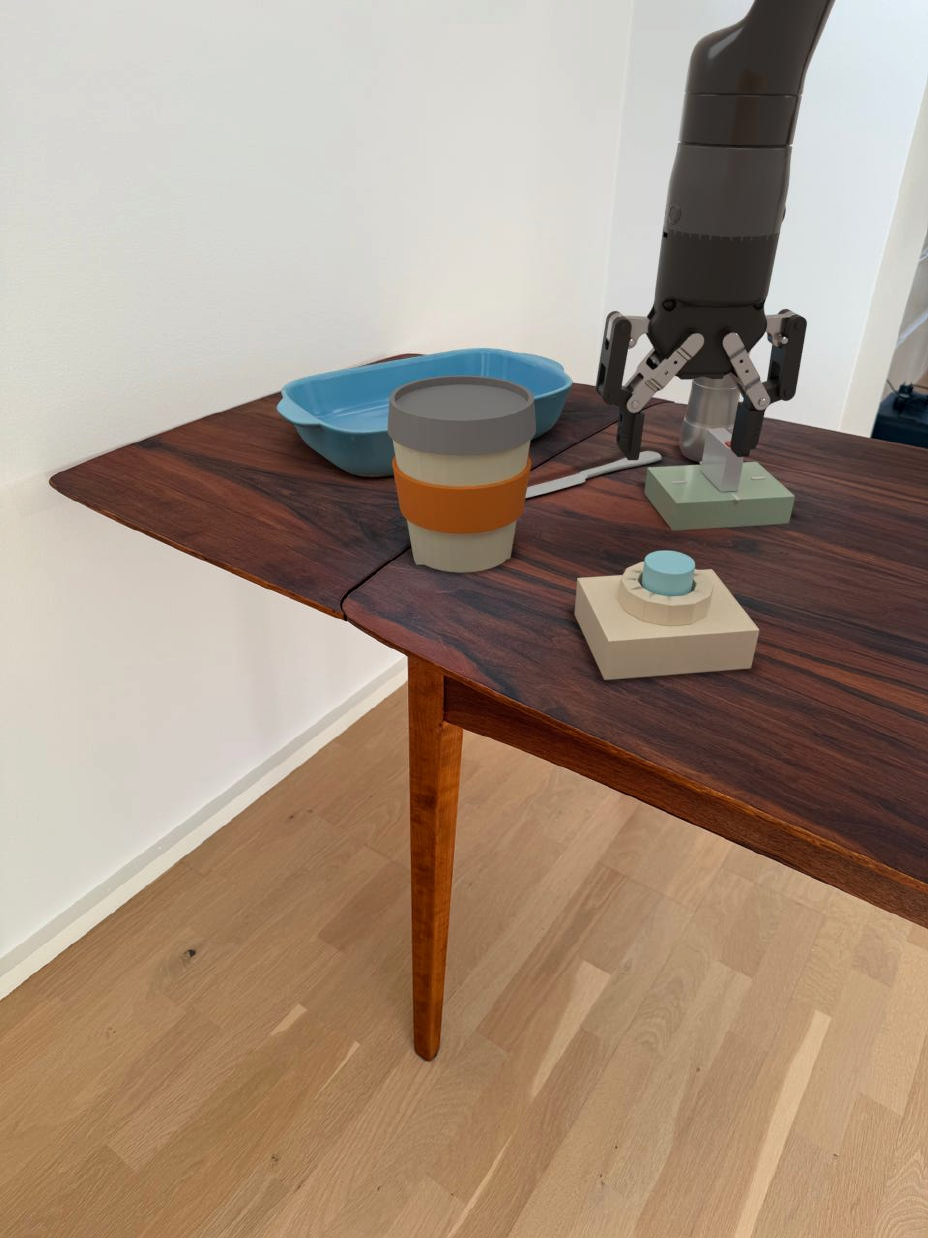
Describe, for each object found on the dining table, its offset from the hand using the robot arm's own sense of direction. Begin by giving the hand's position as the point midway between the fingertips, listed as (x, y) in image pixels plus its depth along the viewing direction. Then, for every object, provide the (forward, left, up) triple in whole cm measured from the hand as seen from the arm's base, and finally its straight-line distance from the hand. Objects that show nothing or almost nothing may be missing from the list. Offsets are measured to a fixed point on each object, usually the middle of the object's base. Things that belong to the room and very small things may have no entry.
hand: (684, 455), depth 65 cm
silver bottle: (-15, -30, -13) cm, 36 cm away
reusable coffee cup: (+16, -10, -13) cm, 23 cm away
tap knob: (-11, -17, -10) cm, 23 cm away
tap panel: (-11, -17, -13) cm, 24 cm away
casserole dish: (+16, -41, -13) cm, 46 cm away
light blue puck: (+3, +7, -7) cm, 10 cm away
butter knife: (+1, -26, -13) cm, 29 cm away
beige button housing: (+3, +7, -13) cm, 15 cm away
